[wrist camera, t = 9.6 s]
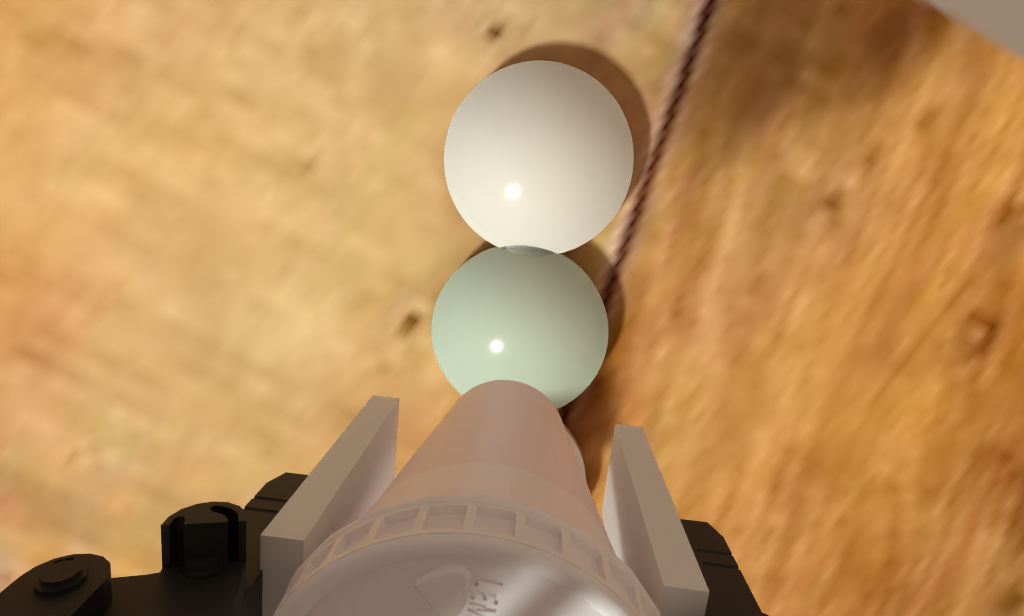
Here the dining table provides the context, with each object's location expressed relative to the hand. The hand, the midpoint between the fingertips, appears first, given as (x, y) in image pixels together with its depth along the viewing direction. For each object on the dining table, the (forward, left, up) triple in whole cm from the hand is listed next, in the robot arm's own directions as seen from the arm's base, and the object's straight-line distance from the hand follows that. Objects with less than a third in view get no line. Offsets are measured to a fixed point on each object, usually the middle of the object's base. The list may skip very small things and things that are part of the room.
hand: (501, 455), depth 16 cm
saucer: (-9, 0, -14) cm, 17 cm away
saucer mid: (0, 0, -14) cm, 14 cm away
